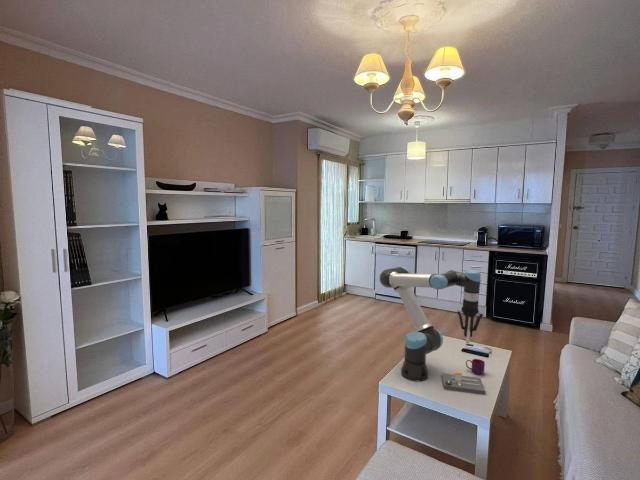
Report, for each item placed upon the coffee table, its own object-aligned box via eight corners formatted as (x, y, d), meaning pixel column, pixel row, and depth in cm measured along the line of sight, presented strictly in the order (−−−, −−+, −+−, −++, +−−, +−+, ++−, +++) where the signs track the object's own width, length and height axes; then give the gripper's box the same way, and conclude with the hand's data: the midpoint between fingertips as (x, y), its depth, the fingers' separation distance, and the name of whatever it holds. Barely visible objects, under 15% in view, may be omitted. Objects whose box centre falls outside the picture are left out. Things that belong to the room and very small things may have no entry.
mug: (482, 376, 197) (483, 365, 197) (464, 371, 204) (464, 360, 203) (485, 372, 203) (486, 361, 202) (467, 367, 209) (468, 356, 208)
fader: (454, 381, 188) (455, 373, 187) (454, 378, 190) (454, 370, 190) (461, 382, 187) (461, 373, 186) (460, 379, 189) (461, 371, 189)
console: (443, 389, 184) (444, 383, 184) (441, 376, 198) (442, 371, 197) (484, 394, 179) (485, 388, 179) (480, 381, 192) (480, 375, 192)
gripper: (458, 300, 182) (455, 343, 185) (485, 302, 179) (481, 346, 182) (456, 296, 189) (453, 337, 193) (482, 298, 186) (479, 340, 189)
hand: (467, 342), depth 187 cm, fingers closed
